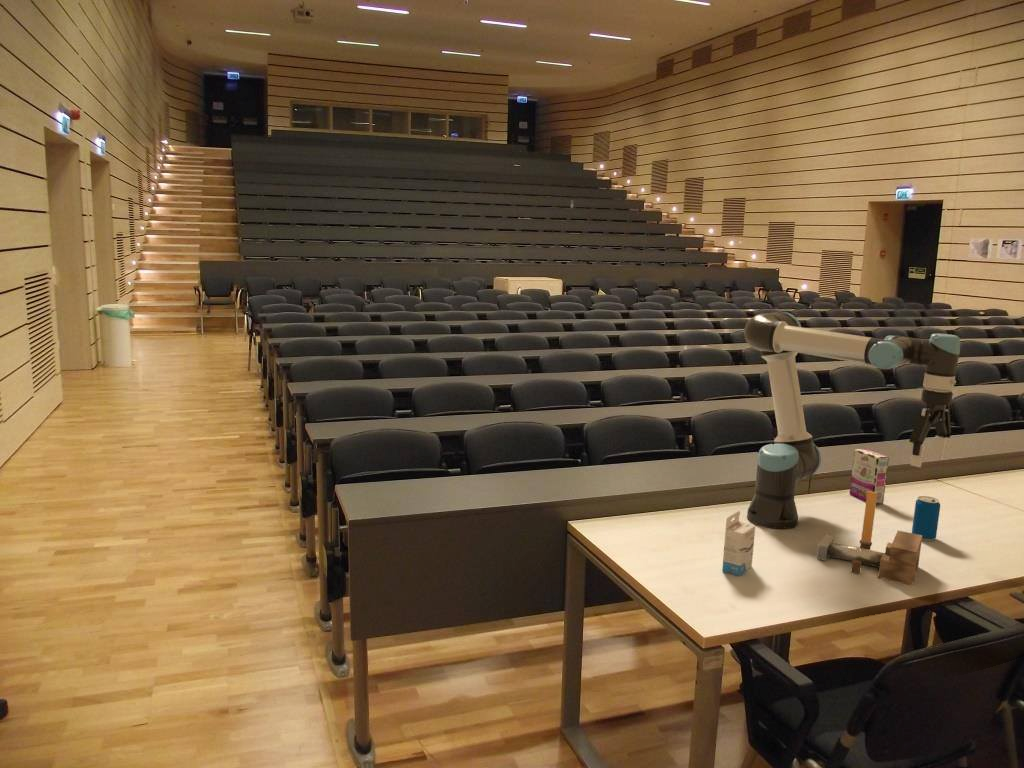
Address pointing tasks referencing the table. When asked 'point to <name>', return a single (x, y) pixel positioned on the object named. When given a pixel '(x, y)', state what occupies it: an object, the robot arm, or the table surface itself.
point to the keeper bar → (869, 518)
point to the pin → (847, 552)
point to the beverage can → (926, 517)
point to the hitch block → (897, 558)
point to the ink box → (738, 545)
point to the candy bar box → (868, 474)
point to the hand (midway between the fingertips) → (926, 462)
